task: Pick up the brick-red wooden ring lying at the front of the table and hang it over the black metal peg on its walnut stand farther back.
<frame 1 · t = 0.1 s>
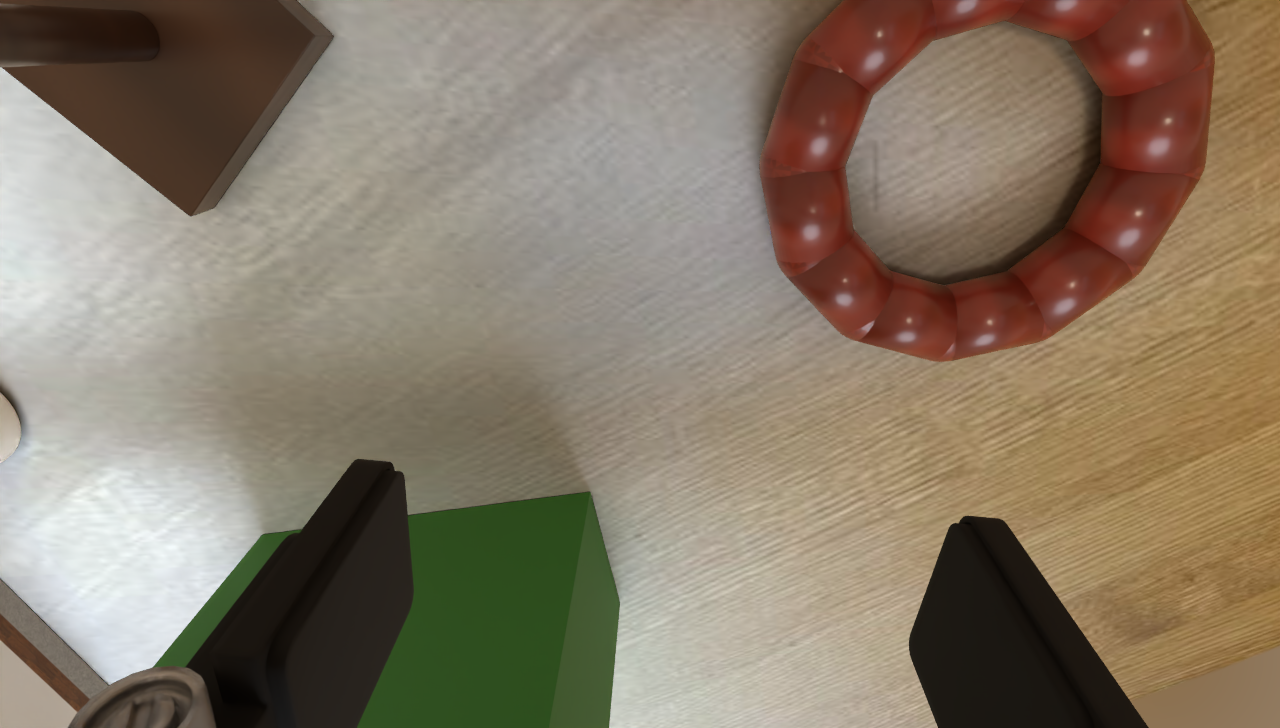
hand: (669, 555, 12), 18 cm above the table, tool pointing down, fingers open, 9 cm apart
peg stand: (165, 36, 25), on the table
ring: (974, 165, 24), point 1 cm above the table
hardback book: (445, 566, 36), on the table
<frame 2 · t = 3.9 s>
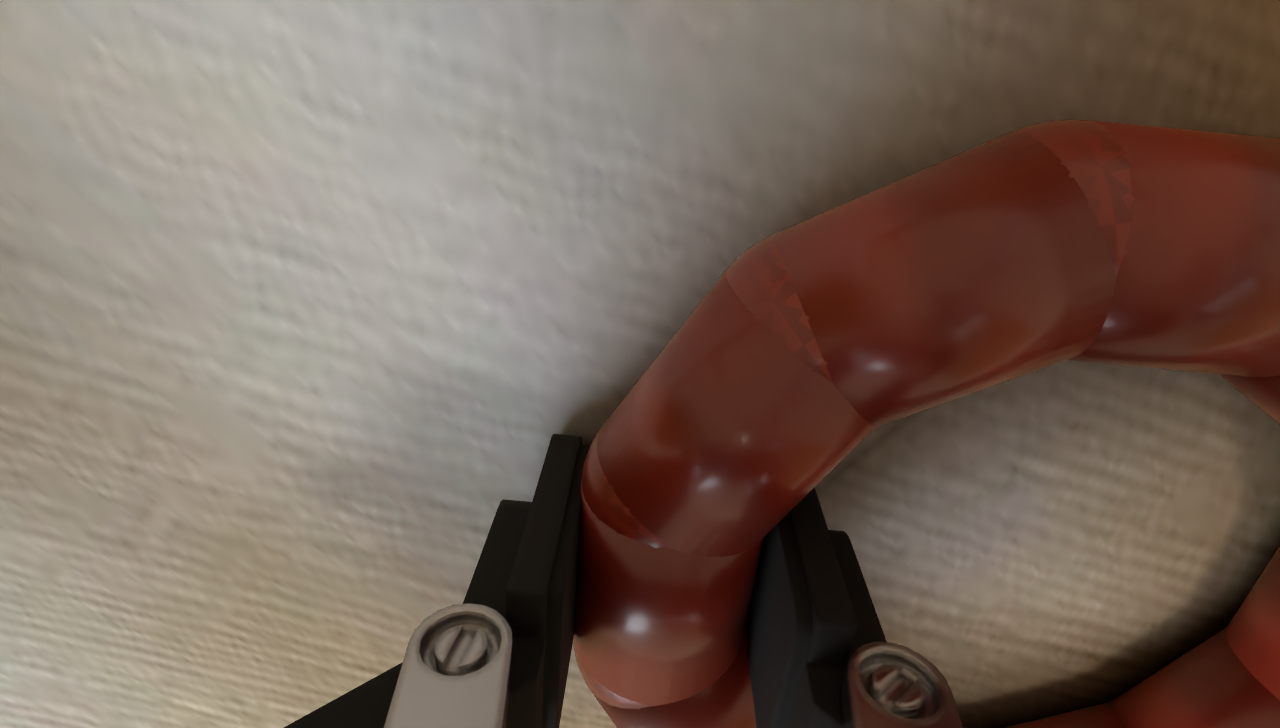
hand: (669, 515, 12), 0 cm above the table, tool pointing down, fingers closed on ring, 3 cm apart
ring: (1017, 596, 11), point 2 cm above the table, touching gripper
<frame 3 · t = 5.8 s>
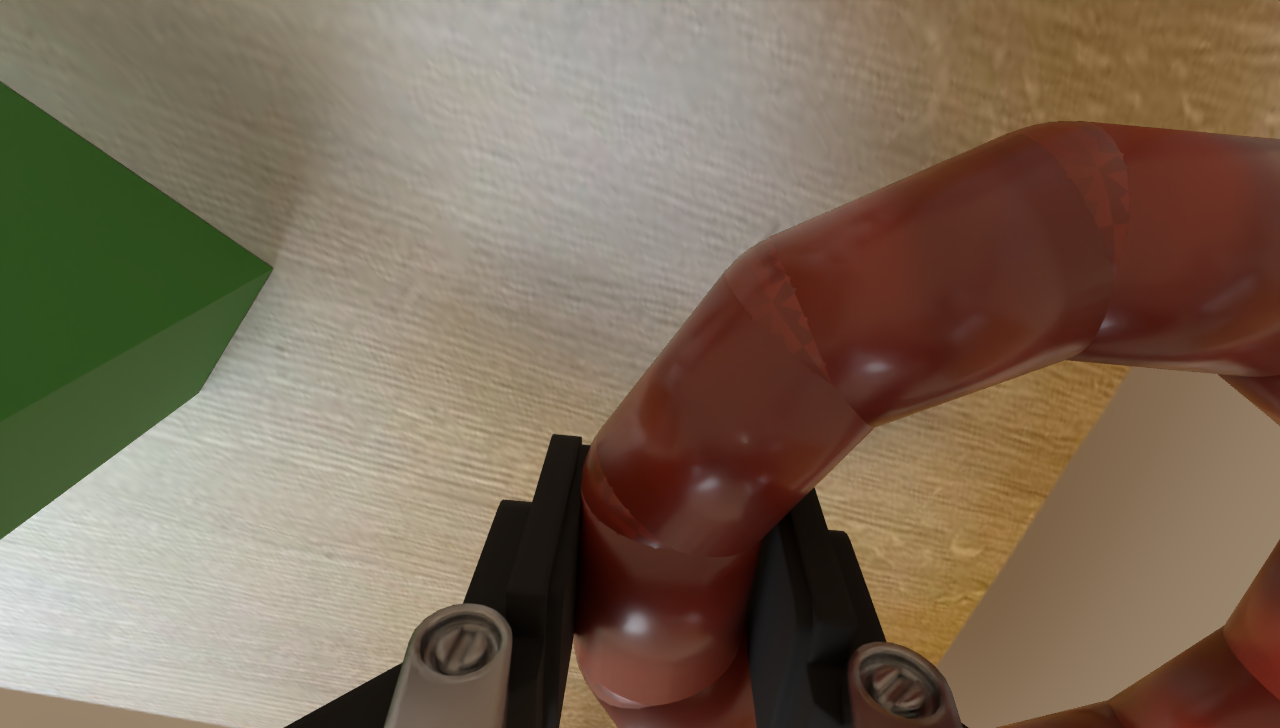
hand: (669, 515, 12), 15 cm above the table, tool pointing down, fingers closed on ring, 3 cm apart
ring: (1016, 595, 11), point 17 cm above the table, touching gripper
hardback book: (28, 196, 26), on the table
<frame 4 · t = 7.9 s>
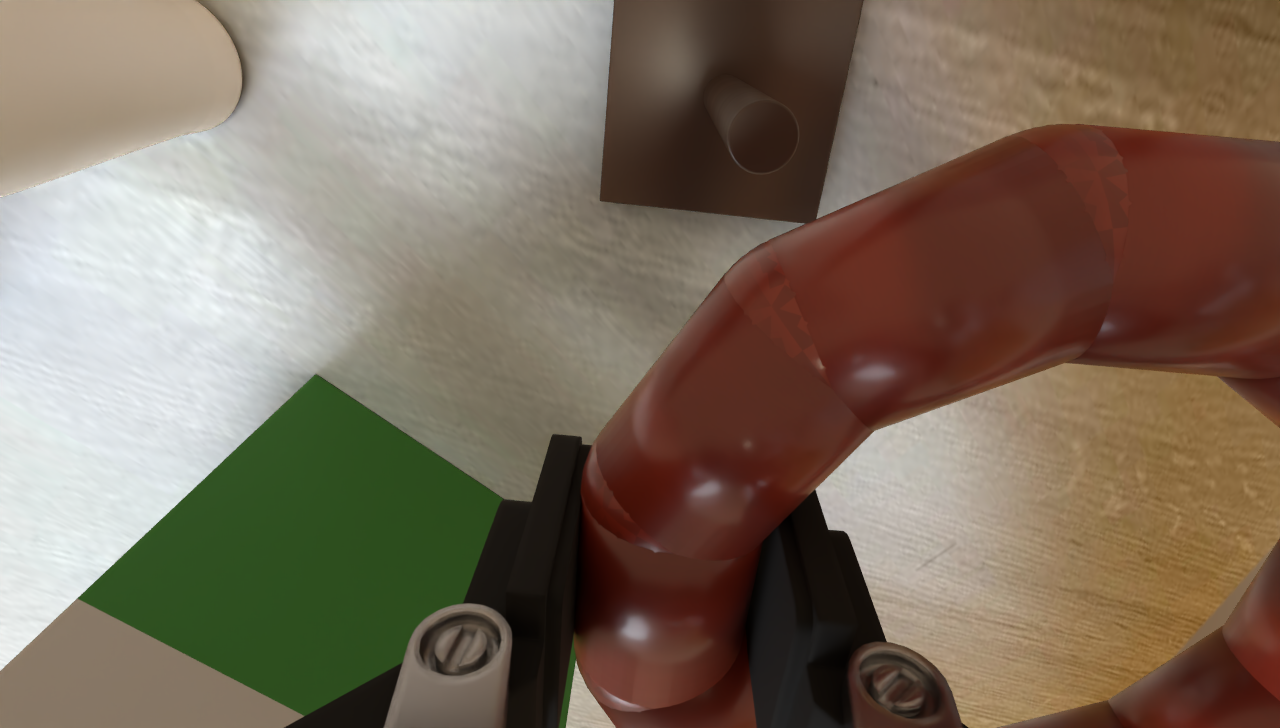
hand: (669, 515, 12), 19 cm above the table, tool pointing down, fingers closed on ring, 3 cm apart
drinking glass: (187, 61, 28), on the table
peg stand: (721, 94, 27), on the table
ring: (1016, 596, 11), point 20 cm above the table, touching gripper
hardback book: (426, 510, 37), on the table
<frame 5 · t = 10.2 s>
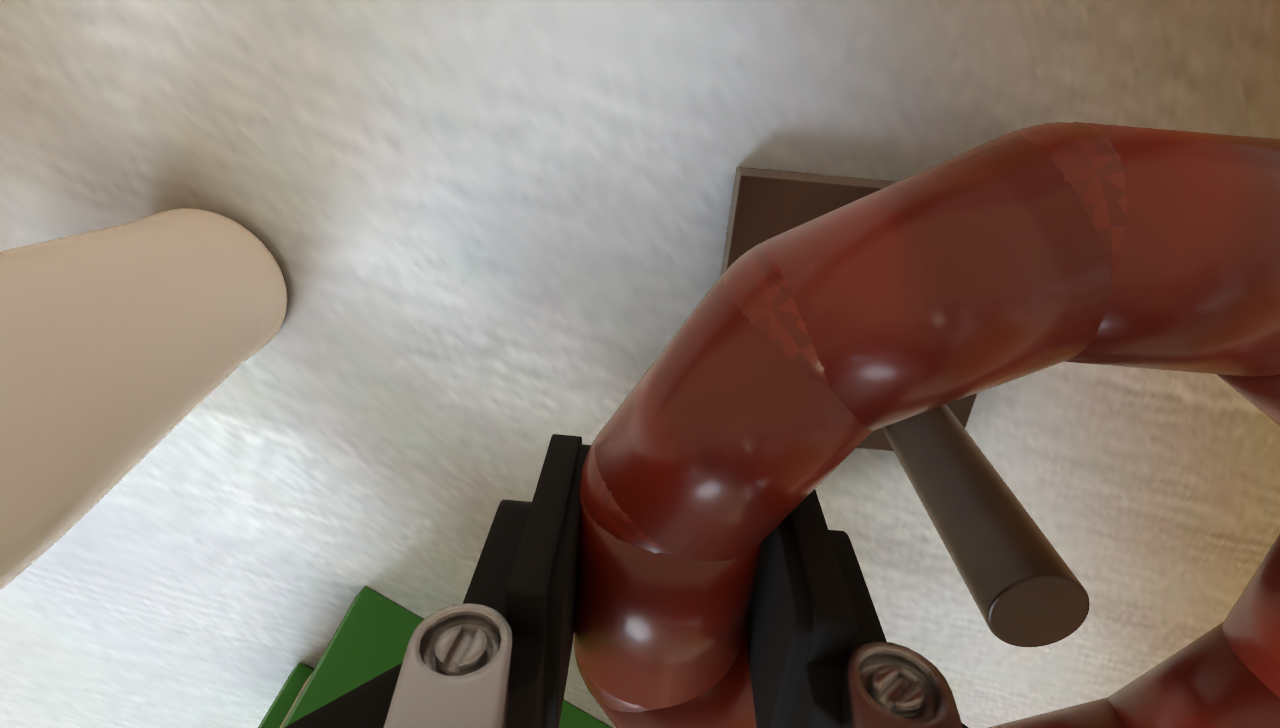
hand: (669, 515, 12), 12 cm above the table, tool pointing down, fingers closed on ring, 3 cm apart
drinking glass: (222, 277, 24), on the table
peg stand: (846, 312, 23), on the table
ring: (1016, 594, 11), point 13 cm above the table, touching gripper
hardback book: (485, 713, 33), on the table
when the fingers open (6 cm above the table, at t = 12.2 s): ring drops 4 cm, resting on peg stand.
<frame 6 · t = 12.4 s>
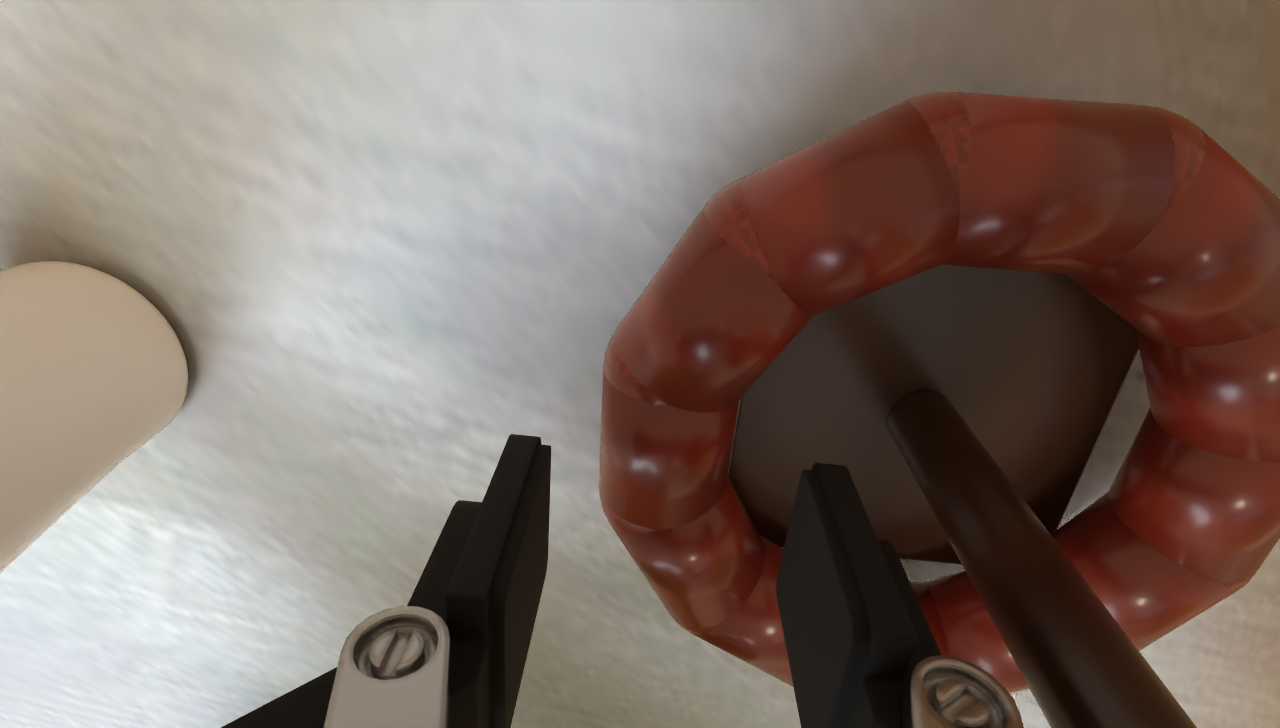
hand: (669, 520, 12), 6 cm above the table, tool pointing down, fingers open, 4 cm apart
drinking glass: (108, 344, 19), on the table
peg stand: (901, 390, 18), on the table
ring: (933, 454, 15), point 3 cm above the table, touching peg stand
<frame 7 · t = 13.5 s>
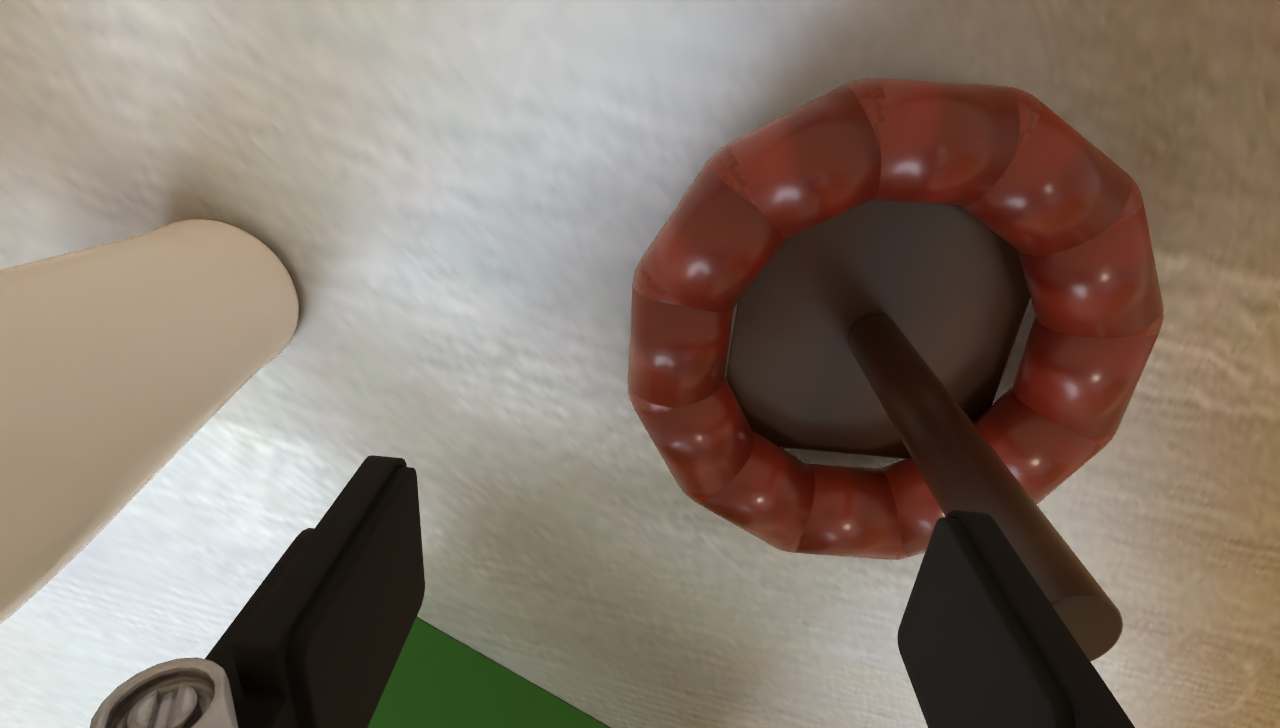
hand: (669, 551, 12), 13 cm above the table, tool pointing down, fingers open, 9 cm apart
drinking glass: (234, 288, 24), on the table
peg stand: (861, 319, 23), on the table
ring: (878, 351, 20), point 3 cm above the table, touching peg stand
hardback book: (496, 721, 33), on the table
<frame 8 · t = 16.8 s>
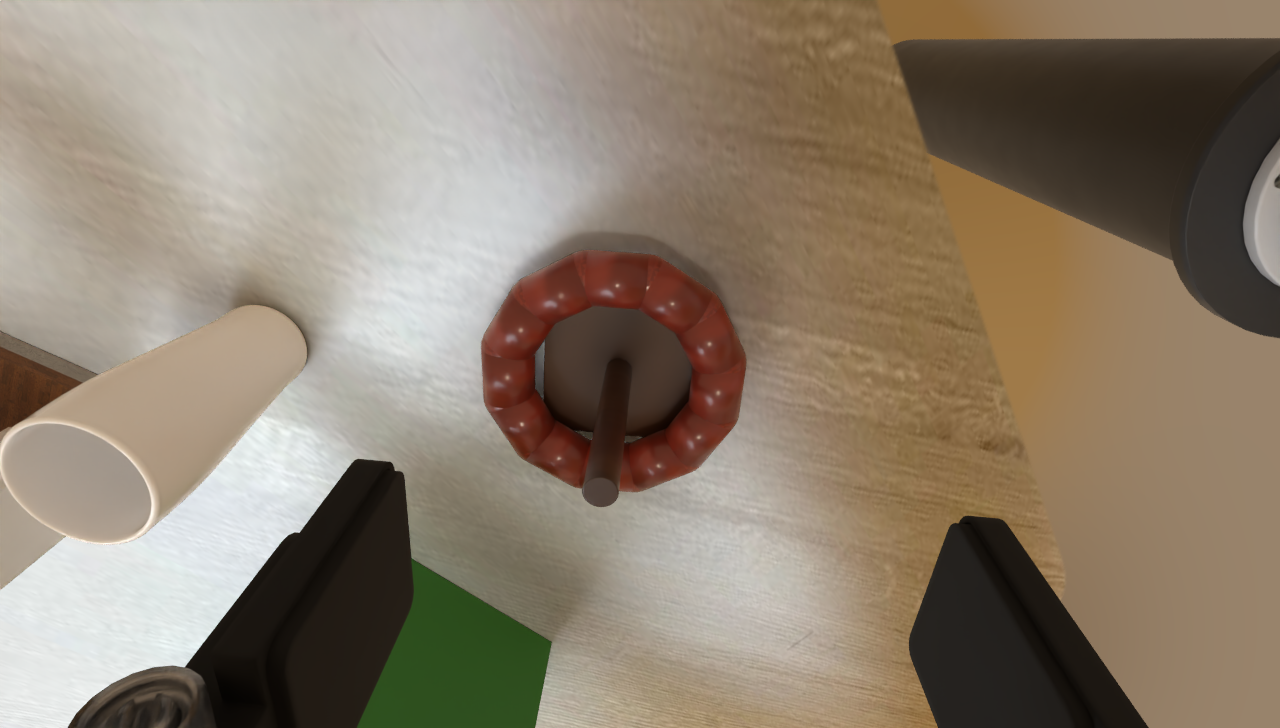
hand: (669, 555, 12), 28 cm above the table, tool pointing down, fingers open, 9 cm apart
drinking glass: (270, 340, 42), on the table
peg stand: (620, 359, 41), on the table
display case: (35, 411, 45), on the table
ring: (612, 379, 39), point 3 cm above the table, touching peg stand
hardback book: (431, 611, 52), on the table
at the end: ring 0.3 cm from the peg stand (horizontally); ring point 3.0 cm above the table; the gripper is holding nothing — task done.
